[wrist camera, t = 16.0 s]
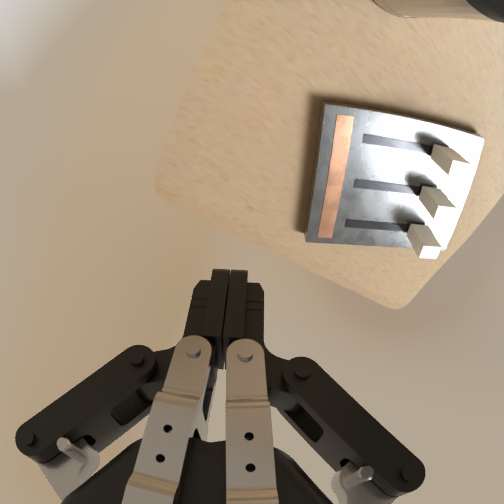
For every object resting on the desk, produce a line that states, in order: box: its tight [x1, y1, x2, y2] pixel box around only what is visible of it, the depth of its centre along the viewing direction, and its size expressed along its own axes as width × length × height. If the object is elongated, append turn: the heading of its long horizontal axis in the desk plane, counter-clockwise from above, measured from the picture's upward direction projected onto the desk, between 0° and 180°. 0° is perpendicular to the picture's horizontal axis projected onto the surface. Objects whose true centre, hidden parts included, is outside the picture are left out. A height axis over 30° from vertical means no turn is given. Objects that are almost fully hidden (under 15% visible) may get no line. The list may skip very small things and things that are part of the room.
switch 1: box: [407, 224, 442, 259], centre depth 39 cm, size 2×3×5 cm, turn 88°
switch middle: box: [419, 186, 457, 222], centre depth 35 cm, size 2×3×5 cm, turn 88°
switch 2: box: [430, 144, 472, 179], centre depth 31 cm, size 2×3×5 cm, turn 88°
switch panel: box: [304, 101, 485, 250], centre depth 38 cm, size 19×23×2 cm
